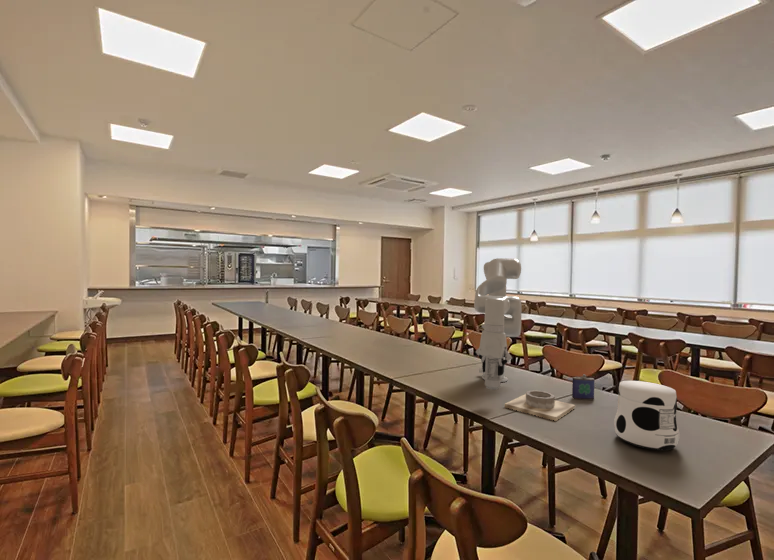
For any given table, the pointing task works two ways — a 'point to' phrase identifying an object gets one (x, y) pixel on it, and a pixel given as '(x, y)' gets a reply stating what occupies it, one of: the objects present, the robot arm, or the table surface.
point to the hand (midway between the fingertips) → (492, 372)
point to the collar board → (538, 411)
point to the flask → (583, 387)
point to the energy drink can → (492, 373)
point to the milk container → (647, 415)
